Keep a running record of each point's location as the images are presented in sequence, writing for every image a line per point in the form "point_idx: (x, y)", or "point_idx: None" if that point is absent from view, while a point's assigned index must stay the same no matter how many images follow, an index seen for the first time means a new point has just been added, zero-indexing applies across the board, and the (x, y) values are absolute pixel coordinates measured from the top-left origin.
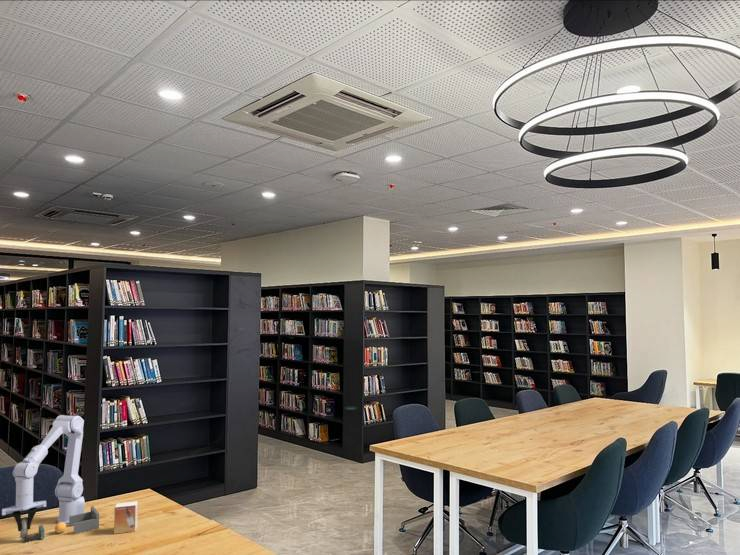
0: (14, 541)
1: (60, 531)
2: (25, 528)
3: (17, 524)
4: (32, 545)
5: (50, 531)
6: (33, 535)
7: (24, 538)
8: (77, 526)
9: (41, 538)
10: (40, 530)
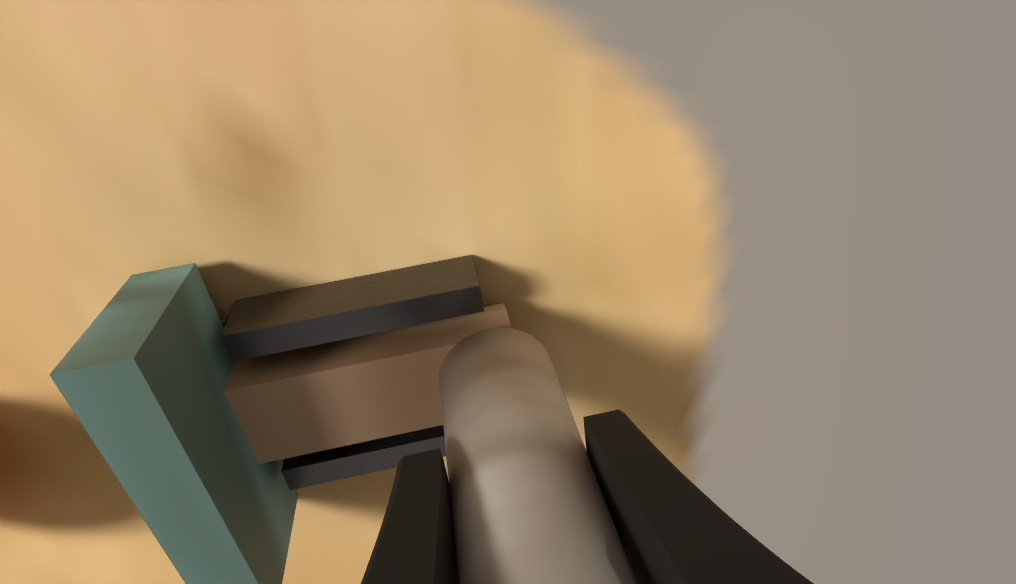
0: (608, 384)
1: None
2: (495, 460)
3: (740, 527)
4: (307, 42)
5: (146, 545)
6: (338, 376)
7: (482, 330)
8: None
9: (181, 269)
10: (177, 412)
